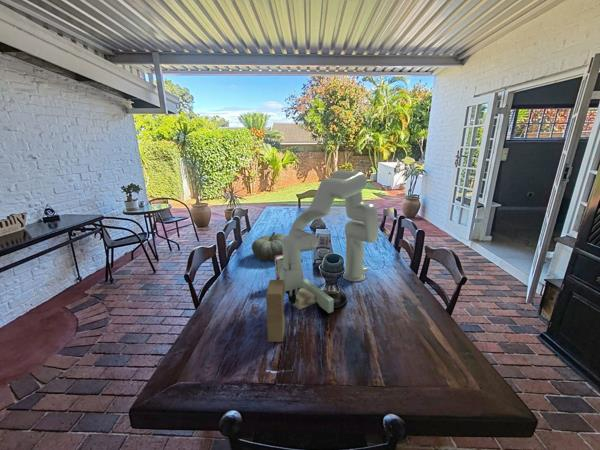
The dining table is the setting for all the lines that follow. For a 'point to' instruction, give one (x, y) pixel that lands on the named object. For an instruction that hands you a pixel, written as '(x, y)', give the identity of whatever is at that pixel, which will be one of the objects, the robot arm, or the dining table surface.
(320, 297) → the sage board
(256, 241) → the gourd
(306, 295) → the ash block
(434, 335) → the dining table surface
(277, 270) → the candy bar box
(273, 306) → the decorative block
